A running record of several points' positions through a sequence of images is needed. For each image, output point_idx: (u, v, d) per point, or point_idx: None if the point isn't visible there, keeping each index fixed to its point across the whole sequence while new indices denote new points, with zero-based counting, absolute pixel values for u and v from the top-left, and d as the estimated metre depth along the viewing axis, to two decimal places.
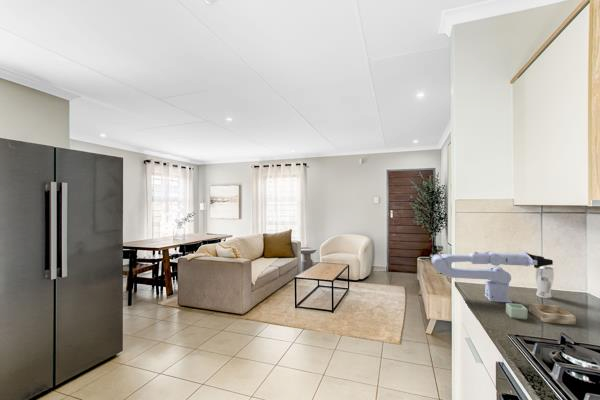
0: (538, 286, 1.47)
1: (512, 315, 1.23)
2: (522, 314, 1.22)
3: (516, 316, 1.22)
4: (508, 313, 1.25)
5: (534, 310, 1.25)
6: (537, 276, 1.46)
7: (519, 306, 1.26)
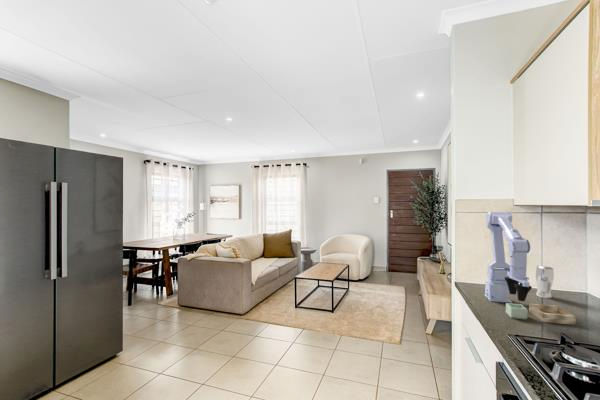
0: (538, 286, 1.47)
1: (512, 315, 1.23)
2: (522, 314, 1.22)
3: (516, 316, 1.22)
4: (508, 313, 1.25)
5: (534, 310, 1.25)
6: (537, 276, 1.46)
7: (519, 306, 1.26)
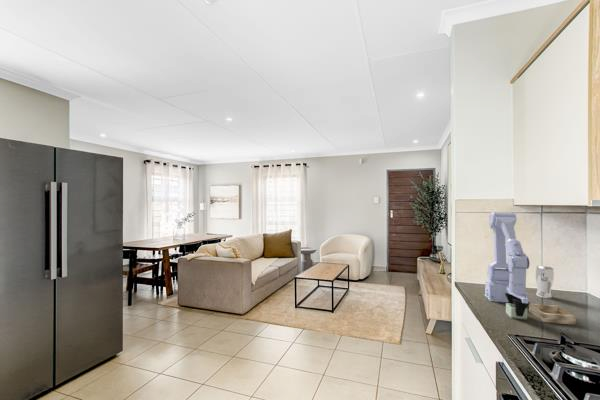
0: (538, 286, 1.47)
1: (512, 315, 1.23)
2: None
3: (516, 316, 1.22)
4: (508, 313, 1.25)
5: (534, 310, 1.25)
6: (537, 276, 1.46)
7: None
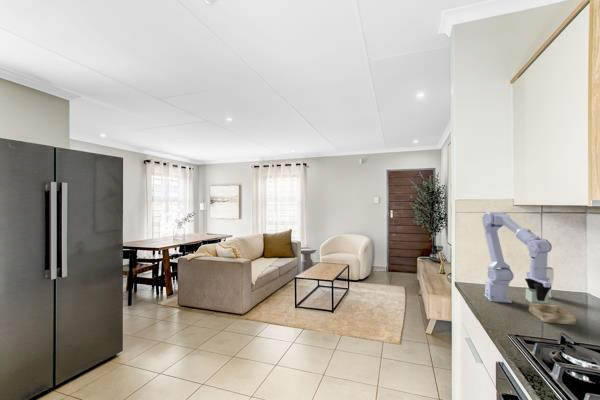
0: None
1: (533, 300, 1.22)
2: None
3: (537, 301, 1.21)
4: (528, 299, 1.24)
5: (534, 310, 1.25)
6: None
7: None
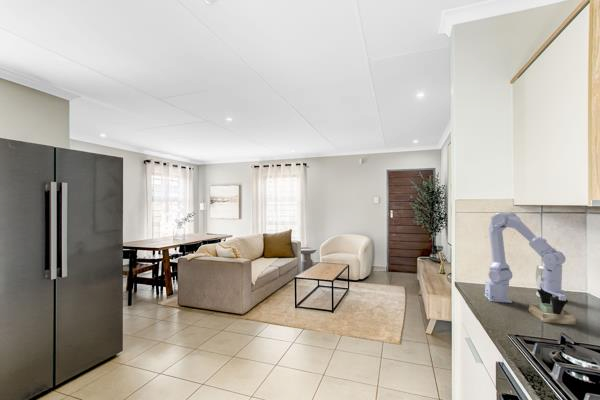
0: (538, 286, 1.47)
1: None
2: None
3: None
4: None
5: (534, 310, 1.25)
6: (537, 276, 1.46)
7: None
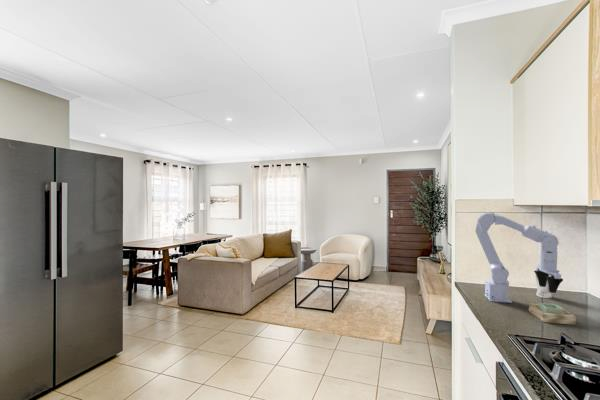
0: (538, 286, 1.47)
1: None
2: None
3: None
4: None
5: (534, 310, 1.25)
6: None
7: (553, 306, 1.24)
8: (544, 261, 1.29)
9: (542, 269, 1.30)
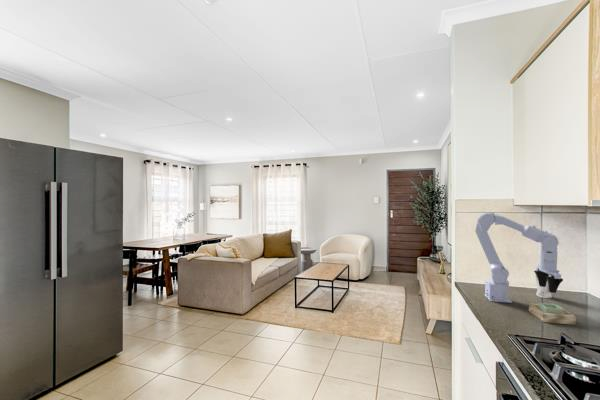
0: (538, 286, 1.47)
1: None
2: None
3: None
4: None
5: (534, 310, 1.25)
6: None
7: (553, 306, 1.24)
8: (544, 261, 1.29)
9: (542, 269, 1.30)
